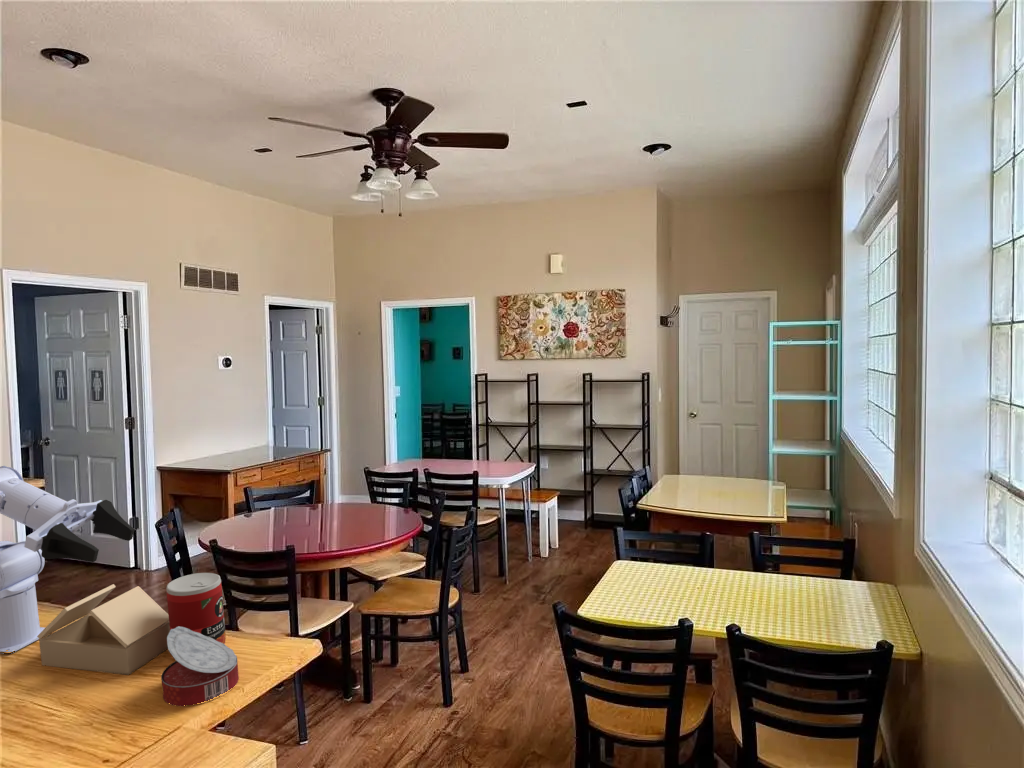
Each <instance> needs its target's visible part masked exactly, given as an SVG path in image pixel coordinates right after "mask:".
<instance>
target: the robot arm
mask: <svg viewBox="0 0 1024 768" xmlns="http://www.w3.org/2000/svg"><path fill="white" fill-rule="evenodd" d="M0 514H1V515H3V516H5V517H7V518H9V519H11V520H14V521H16V522H18V523H21V524H22V525H25V526H26V527H28V528H30V529H32V530H34V531H33V532H32V533H31V532H30V534H28V535H26V537H25V540H23V541H19V542H18V541H17V542H14V541H10V540H1V541H0V652H13V651H15V652H18V651H19V650H21V649H23V648H25V647H27V646H28V645H30V644H32V643H34V642H36V641H39V640H40V639H39V638H38V637H37V636H38V635H39V634H40V633H41V632H42V631H43V630H44V629H45V628H46V627H43V626H40V618H39V609H38V608H39V607H38V599H37V590H36V583H37V582H38V581H39V576H38V575H39V574H40V573H41V572H42V571H43V569H44V567H45V564H46V563H45V562H46V561H45V559H46V560H52V559H53V560H54V559H70V560H71V559H72V560H77V561H82V562H89V563H94V562H96V561H97V560H98V555H99V548H97V547H96V546H95V545H94V544H91V543H89V542H88V541H86V540H84V539H82V538H81V537H79V536H78V535H76V532H77V531H79V529H81V528H82V527H84V526H85V525H86V524H87V523H88V522H89V521H92V524H93V525H94V527H93V530H92V533H93V534H104V535H109V536H113V537H115V538H118V539H121V540H123V541H126V542H127V541H129V542H130V541H131V540H133V537H134V534H135V528H134V527H133V526H132V525H130V524H129V523H128V522H127V521H126V520H125V519H124V518H123V517H121V515H120V514H119V513H118V511H117V510H116V508H115V506H114V504H113V503H112V501H111V500H108V499H104V500H103V499H102V500H101V499H100V500H97V501H93V502H84V503H81V502H80V503H78V500H76V499H74V498H73V499H70V500H68V501H67V500H65V499H63V498H60V497H58V496H56V495H54V494H51V493H50V492H47V491H45V490H44V489H41V488H39V487H37V486H36V485H32V484H30V483H28V482H26V481H25V480H24V478H23V476H22V474H21V473H20V472H19V471H18V469H15V468H14V467H11V466H10V467H9V466H6V465H1V466H0ZM6 650H8V651H6ZM13 653H14V652H13Z"/></svg>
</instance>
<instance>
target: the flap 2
mask: <svg viewBox="0 0 1024 768" xmlns="http://www.w3.org/2000/svg"><path fill="white" fill-rule="evenodd" d="M89 614H91V615H92V616H93V617H94V618H95V619H96V620H97V621H98V622H99V623H100V624H101V625H102V626H103V627H104V628H105V629H106V630H107V631H108V632H109V633H110V634H111V635H113V636H114V637H115V638H116V639H117V640H118V641H119V642H120V643H121V644H122V645H123V646H124V647H125V648H127V647H128V646H130V645H132V644H133V643H135V642H137V641H138V640H140V639H141V638H143V637H145V636H146V635H148V634H149V633H151V632H153V631H154V630H156V629H157V628H159V627H161V626H162V625H164V624H165V623H167V622H169V615H168V612H167V611H166V610H164V609H163V608H162V606H160V605H159V604H158V603H157V602H156V601H155V600H154V599H153V598H152V597H151V596H150V595H149V594H147V592H145V591H144V590H143V589H142V588H141V587H140V585H138V586H135V587H133V588H132V589H130V590H128V591H125V592H124V593H122V594H119V595H118V596H116V597H114V598H112V599H111V600H108V601H107V602H104V603H103V604H101V605H99V606H96V607H95V608H94V609H93V610H91V612H90V613H89Z"/></svg>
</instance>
